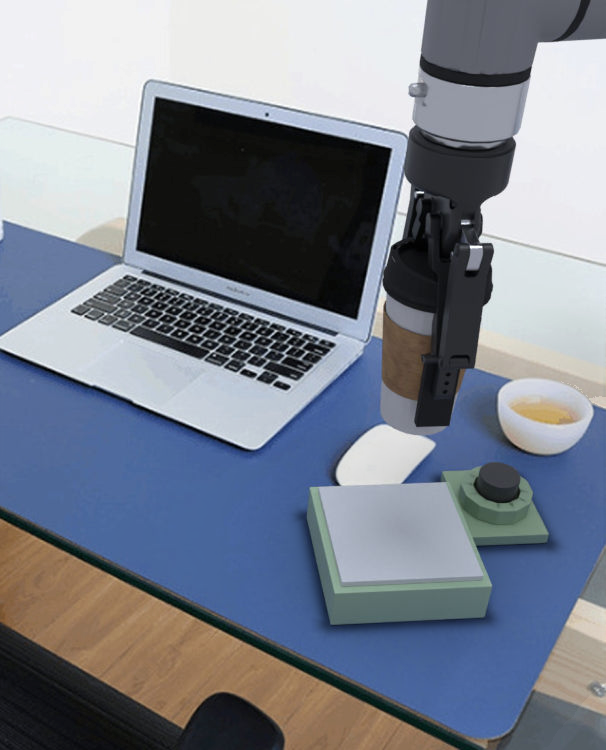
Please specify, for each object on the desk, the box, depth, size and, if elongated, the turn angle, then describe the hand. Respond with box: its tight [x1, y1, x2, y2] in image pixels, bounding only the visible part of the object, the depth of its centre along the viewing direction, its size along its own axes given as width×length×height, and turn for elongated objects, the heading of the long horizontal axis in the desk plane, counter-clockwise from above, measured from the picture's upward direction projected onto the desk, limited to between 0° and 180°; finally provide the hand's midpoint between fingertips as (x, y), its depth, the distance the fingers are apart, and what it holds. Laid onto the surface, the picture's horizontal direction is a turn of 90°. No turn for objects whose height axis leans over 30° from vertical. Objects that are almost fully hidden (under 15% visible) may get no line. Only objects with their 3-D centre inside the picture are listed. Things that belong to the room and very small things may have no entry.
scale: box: [306, 481, 493, 626], centre depth 93 cm, size 14×14×5 cm
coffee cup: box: [379, 237, 494, 436], centre depth 81 cm, size 8×8×15 cm
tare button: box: [476, 461, 521, 503], centre depth 100 cm, size 4×4×2 cm
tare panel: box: [440, 465, 550, 547], centre depth 101 cm, size 8×10×3 cm
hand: (419, 393), depth 84 cm, fingers closed on coffee cup, 8 cm apart
